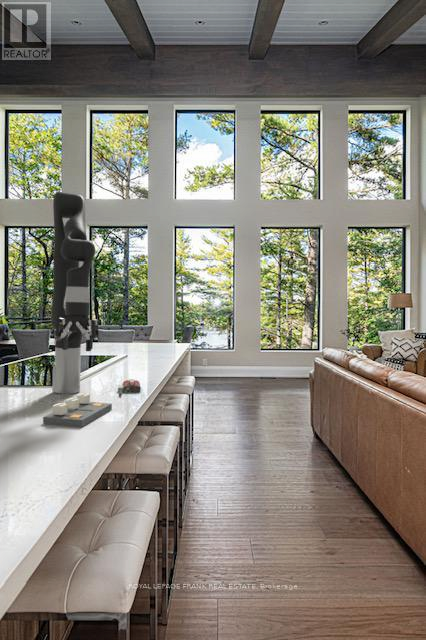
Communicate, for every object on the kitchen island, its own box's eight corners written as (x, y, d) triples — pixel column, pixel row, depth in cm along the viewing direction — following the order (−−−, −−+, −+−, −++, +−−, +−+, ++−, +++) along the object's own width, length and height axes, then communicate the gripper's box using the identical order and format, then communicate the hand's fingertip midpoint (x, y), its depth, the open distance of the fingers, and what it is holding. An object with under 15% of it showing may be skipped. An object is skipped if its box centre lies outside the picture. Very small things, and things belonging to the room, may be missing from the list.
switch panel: (43, 423, 120) (43, 416, 120) (77, 407, 140) (77, 400, 140) (82, 427, 118) (82, 419, 118) (111, 409, 138) (111, 403, 138)
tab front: (52, 414, 121) (52, 404, 121) (58, 411, 124) (58, 402, 124) (62, 415, 121) (62, 405, 121) (67, 412, 124) (67, 403, 123)
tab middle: (65, 408, 128) (65, 399, 128) (70, 406, 131) (70, 397, 131) (74, 409, 128) (74, 399, 127) (79, 406, 130) (79, 397, 130)
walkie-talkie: (118, 387, 175) (117, 398, 156) (118, 376, 175) (117, 386, 155) (139, 386, 177) (141, 397, 157) (139, 376, 177) (141, 386, 157)
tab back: (76, 403, 135) (76, 394, 135) (81, 400, 138) (81, 392, 138) (85, 403, 134) (85, 395, 134) (89, 401, 137) (89, 393, 137)
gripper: (51, 300, 135) (50, 350, 136) (91, 301, 132) (90, 352, 133) (64, 300, 143) (64, 348, 143) (103, 301, 139) (102, 350, 140)
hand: (76, 350), depth 138 cm, fingers open, 8 cm apart
